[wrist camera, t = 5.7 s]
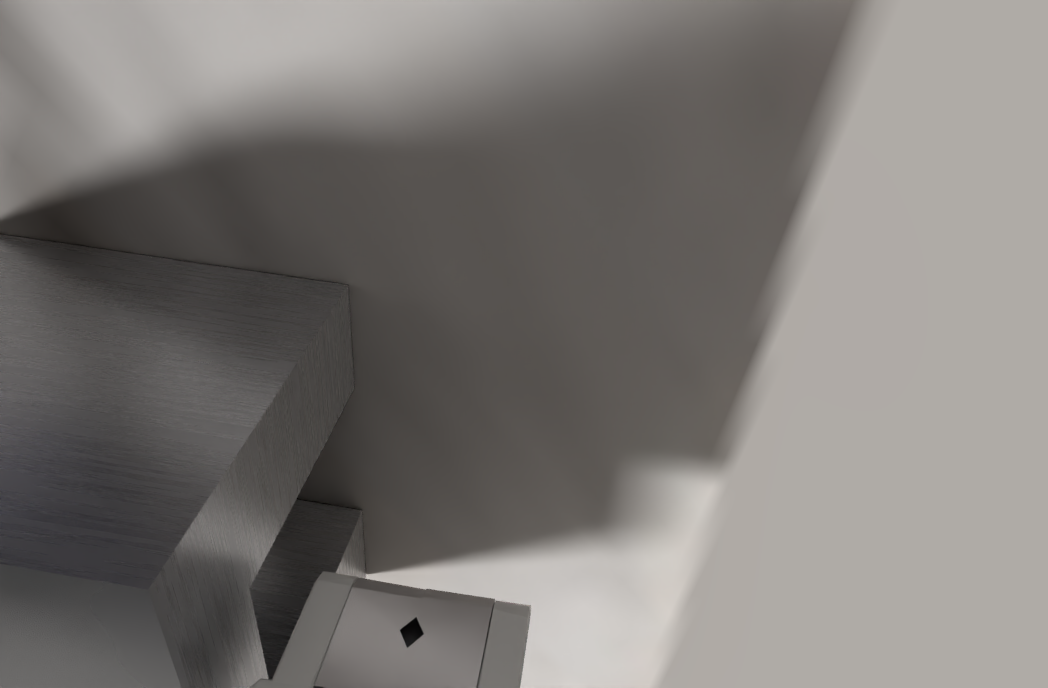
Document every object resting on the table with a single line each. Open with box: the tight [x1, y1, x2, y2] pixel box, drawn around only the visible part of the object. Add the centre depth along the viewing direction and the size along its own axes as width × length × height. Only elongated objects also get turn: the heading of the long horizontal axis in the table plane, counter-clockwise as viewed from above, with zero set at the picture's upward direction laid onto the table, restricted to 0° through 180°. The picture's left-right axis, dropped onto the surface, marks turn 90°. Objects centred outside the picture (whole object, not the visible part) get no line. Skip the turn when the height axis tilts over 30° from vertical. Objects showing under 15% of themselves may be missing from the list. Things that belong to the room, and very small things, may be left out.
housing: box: [0, 234, 366, 688], centre depth 11 cm, size 7×6×6 cm
